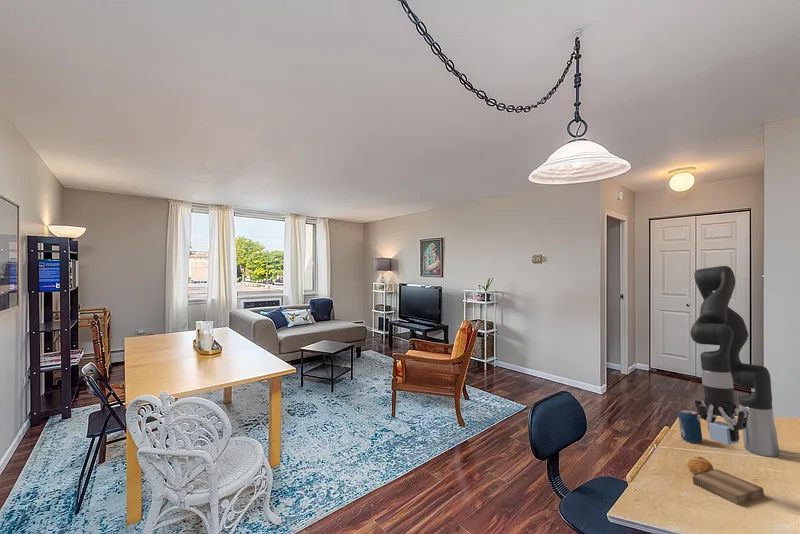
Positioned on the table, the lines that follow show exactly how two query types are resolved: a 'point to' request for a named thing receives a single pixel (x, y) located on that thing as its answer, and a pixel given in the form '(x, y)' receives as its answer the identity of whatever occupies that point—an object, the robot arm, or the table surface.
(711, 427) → the blue cube
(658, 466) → the table surface
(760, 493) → the walnut base
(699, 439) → the soda can
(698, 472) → the pastry
